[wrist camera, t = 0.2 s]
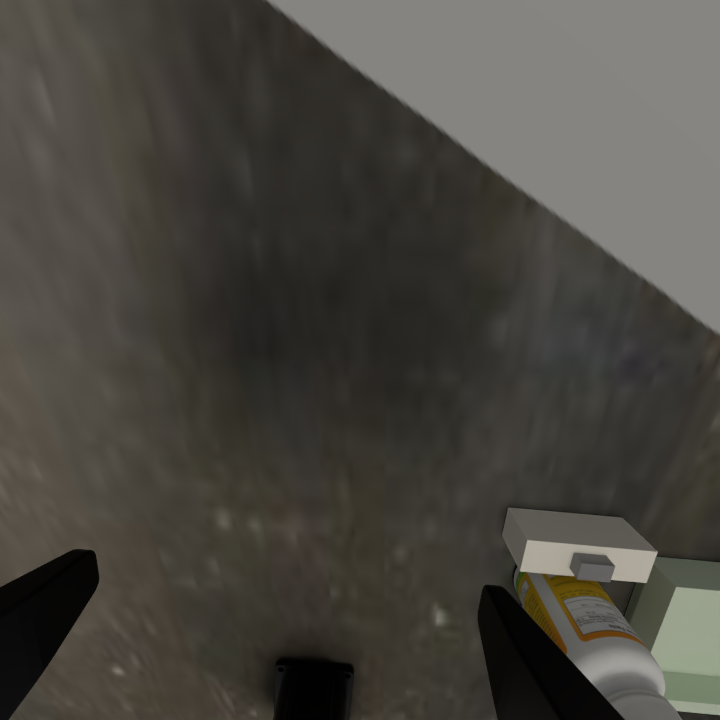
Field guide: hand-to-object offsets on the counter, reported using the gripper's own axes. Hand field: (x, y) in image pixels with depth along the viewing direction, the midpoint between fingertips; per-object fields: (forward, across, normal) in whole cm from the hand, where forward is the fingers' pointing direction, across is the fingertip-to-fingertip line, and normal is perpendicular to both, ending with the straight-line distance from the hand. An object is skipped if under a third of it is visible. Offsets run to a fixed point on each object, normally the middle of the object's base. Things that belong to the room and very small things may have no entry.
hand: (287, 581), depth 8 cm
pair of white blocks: (+14, -16, +14) cm, 26 cm away
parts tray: (+14, -28, +17) cm, 36 cm away
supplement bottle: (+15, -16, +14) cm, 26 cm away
